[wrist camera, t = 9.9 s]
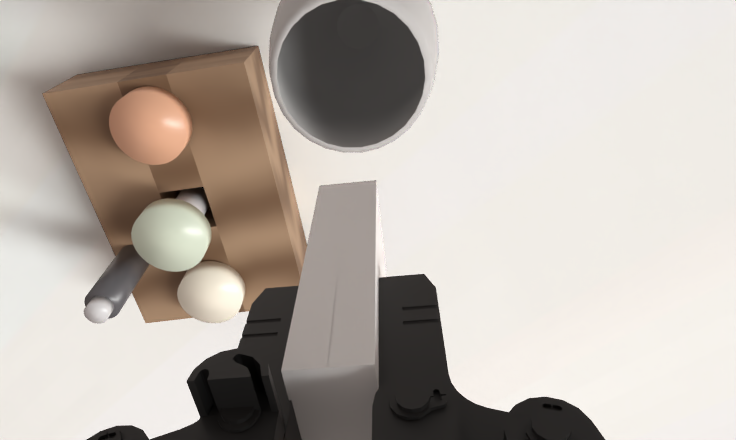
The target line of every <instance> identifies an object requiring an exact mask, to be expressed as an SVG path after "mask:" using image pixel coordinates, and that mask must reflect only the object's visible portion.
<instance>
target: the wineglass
mask: <svg viewBox="0 0 736 440" xmlns="http://www.w3.org/2000/svg"><path fill="white" fill-rule="evenodd" d="M438 55H439V44H438V28H437V22H436V18H435V15H434V12H433V8H432V5H431V3H430V1H429V0H281V2H280V3H279V6H278V9H277V12H276V16H275V19H274V23H273V27H272V31H271V35H270V48H269V72H270V77H271V82H272V87H273V92H274V95H275V98H276V100H277V102H278V104H279V107H280V109H281V111H282V113H283V115H284V116H285V117H286V118H287V120H288V121H289V122H290V123H291V125H292V126H293V127H294V129H296V130H297V131H298V132H299V133H301V134H302V135H303V136H304V137H306V138H307V139H308V140H309V141H312V142H314V143H316V144H318V145H320V146H322V147H324V148H327V149H331V150H335V151H340V152H365V151H369V150H374V149H378V148H381V147H383V146H385V145H387V144H389V143H391V142H393V141H395V140H396V139H397V138H399V137H400V136H401V135H402V134H403V133H405V132H406V131H407V130H408V129H409V128H410V127H411V126H412V124H413V123H414V122H415V120H416V119H417V118H418V116H419V115H420V114H421V112H422V111H423V108H424V106H425V104H426V102H427V99H428V97H429V95H430V92H431V90H432V87H433V84H434V80H435V74H436V68H437V63H438Z"/></svg>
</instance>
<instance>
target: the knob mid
mask: <svg viewBox="0 0 736 440" xmlns="http://www.w3.org/2000/svg"><path fill="white" fill-rule="evenodd" d="M209 206H210V205H209V202H208V199H207V196H206V193H205V190H204V189H202V188H201V187H197V188H190V189H183V190H182V191H181V192H180V193H179V195H178V196H177V198H176V199H172V198H167V199H160V200H157V201H154V202H153V203H151V204H149V205H148V206H147V207H146V208H145V209H144V211H143V212H142V213H141V214H140V216H139V217H138V218H137V220H136V221H135V222H134V225H133V227H132V232H131V238H132V242H133V245H134V247H135V249H136V251H137V252H138V254H139V255H140V256H141V257H142V258H143V259H144V260H145V261H146V262H148V263H149V264H151V265H152V266H154V267H156V268H159V269H162V270H165V271H172V272H178V271H185V270H188V269H191V268H193V267H194V266H196V265H197V264H198V263H199V262H200V261H201V260H202V258H203V257H204V255H205V253H206V251H207V248H208V246H209V244H210V242H211V236H212V233H211V227H210V224H209V222H208V220H207V218H206V217H205V213H206V211H207V210H208V208H209Z"/></svg>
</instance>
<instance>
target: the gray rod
mask: <svg viewBox="0 0 736 440" xmlns="http://www.w3.org/2000/svg"><path fill="white" fill-rule="evenodd" d="M148 266H149V263H148V262H146V261H145V260H144V259H143V258H142V257H141V256H140V255H139V254H138V252H137V251H136V249H135V247H134V245H127V246H124V247H123V248H122V249H121V251H120V252H119V253H118V255H117V256H116V257H115V259H114V260H113V261H112V262H111V264H110V265H109V266H108V268H107V269H106V270H105V272H104V273H103V274H102V276H101V277H100V278H99V280H98V281H97V282H96V284H95V285H94V286H93V288H92V289H91V290H90V292H89V293H88V294H87V296H86V297H85V306H86V307H85V309H84V315H85V317H86V318H87V319H88V320H89V321H91V322H94V323H104V322H105V321H106V320H107V319H108V318H113V317H115V316H116V315H117V314H118V313H119V312H120V310H121V308H122V307H123V305H124V304H125V302H126V301H127V299H128V297H129V296H130V294H131V293H132V291H133V290H134V288H135V286H136V285H137V283H138V282H139V280H140V279H141V277H142V276H143V274H144V272H145V271H146V269H147V268H148Z"/></svg>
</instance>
